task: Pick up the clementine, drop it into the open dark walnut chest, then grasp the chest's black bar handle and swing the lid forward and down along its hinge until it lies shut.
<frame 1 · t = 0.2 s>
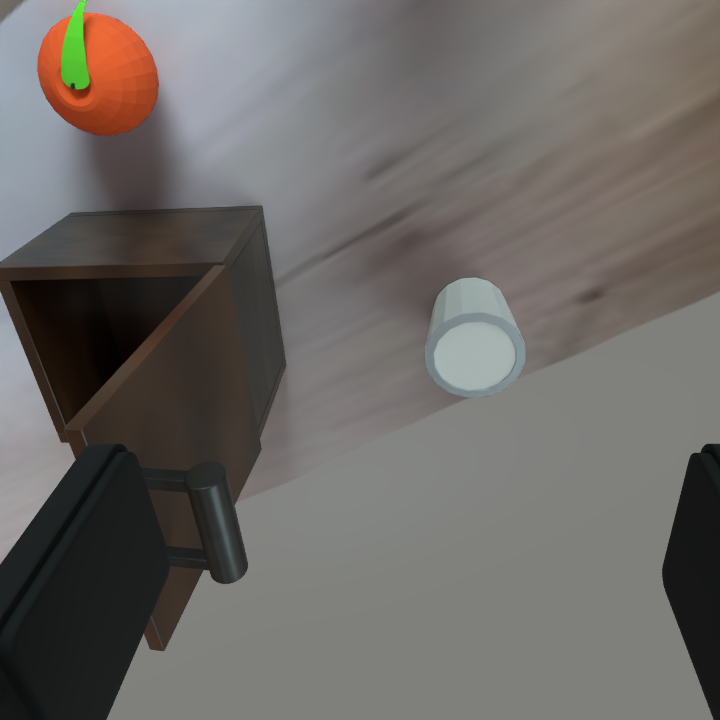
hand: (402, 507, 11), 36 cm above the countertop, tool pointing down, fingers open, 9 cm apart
clementine: (123, 59, 42), on the countertop
chest: (184, 293, 51), on the countertop
lid: (228, 444, 34), point 19 cm above the countertop, hinge at 85.0°
shot glass: (469, 309, 49), on the countertop
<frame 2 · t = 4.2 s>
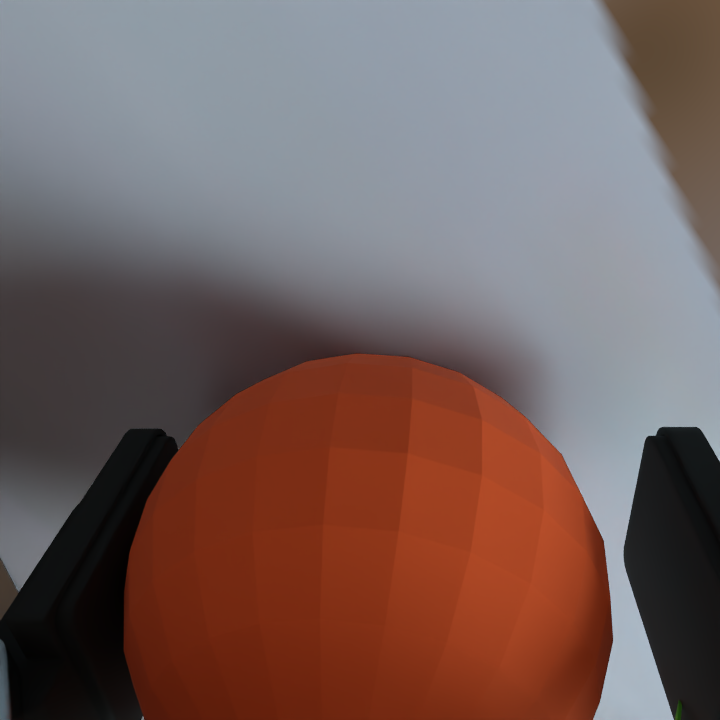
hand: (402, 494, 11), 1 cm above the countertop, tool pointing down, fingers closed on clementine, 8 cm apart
clementine: (408, 437, 13), on the countertop, touching gripper
when the fingers open (14 cm above the countertop, at t = 9.5 s): clementine drops 11 cm, resting on chest.
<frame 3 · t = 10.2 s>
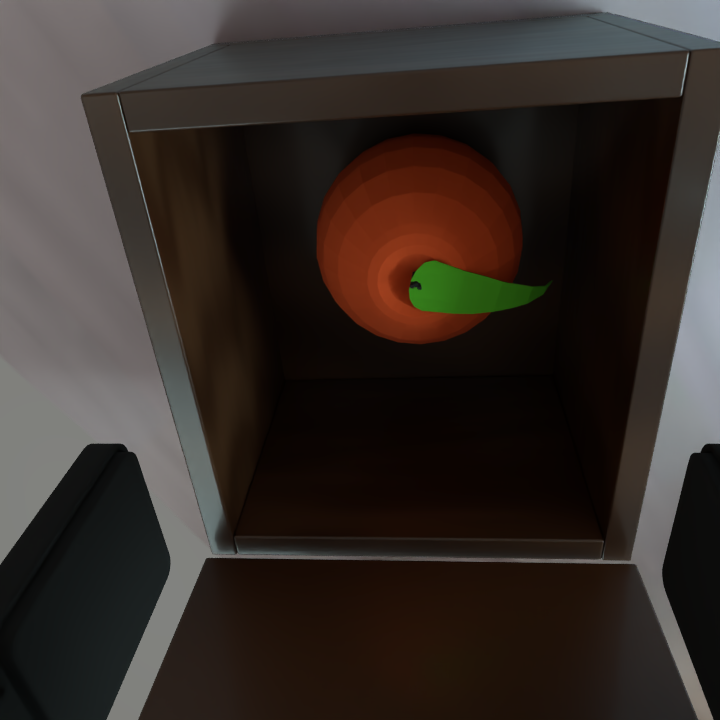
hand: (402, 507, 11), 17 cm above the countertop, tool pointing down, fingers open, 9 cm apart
clementine: (432, 209, 25), point 1 cm above the countertop, touching chest
chest: (411, 232, 26), on the countertop
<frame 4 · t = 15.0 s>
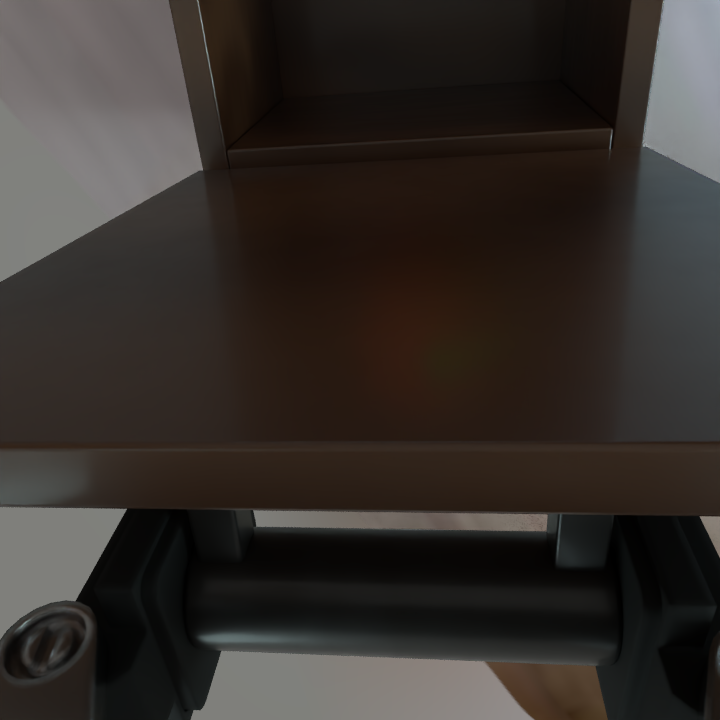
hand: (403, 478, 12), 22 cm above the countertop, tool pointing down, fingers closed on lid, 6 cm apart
lid: (407, 337, 14), point 19 cm above the countertop, hinge at 85.0°, touching gripper
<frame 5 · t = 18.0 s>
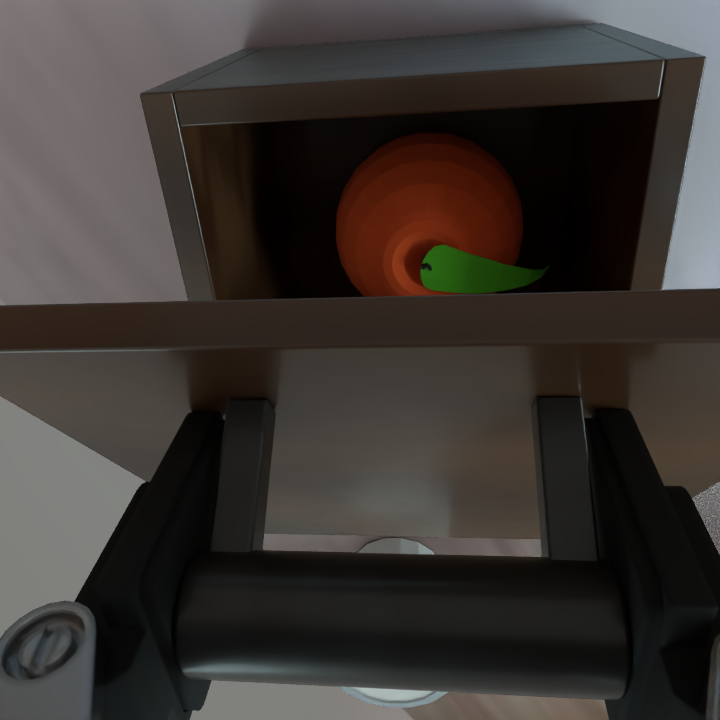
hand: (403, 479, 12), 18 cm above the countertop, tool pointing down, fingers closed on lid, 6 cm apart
clementine: (440, 202, 27), point 1 cm above the countertop, touching chest
chest: (420, 223, 28), on the countertop
lid: (412, 556, 15), point 17 cm above the countertop, hinge at 33.9°, touching gripper
shot glass: (397, 566, 40), on the countertop
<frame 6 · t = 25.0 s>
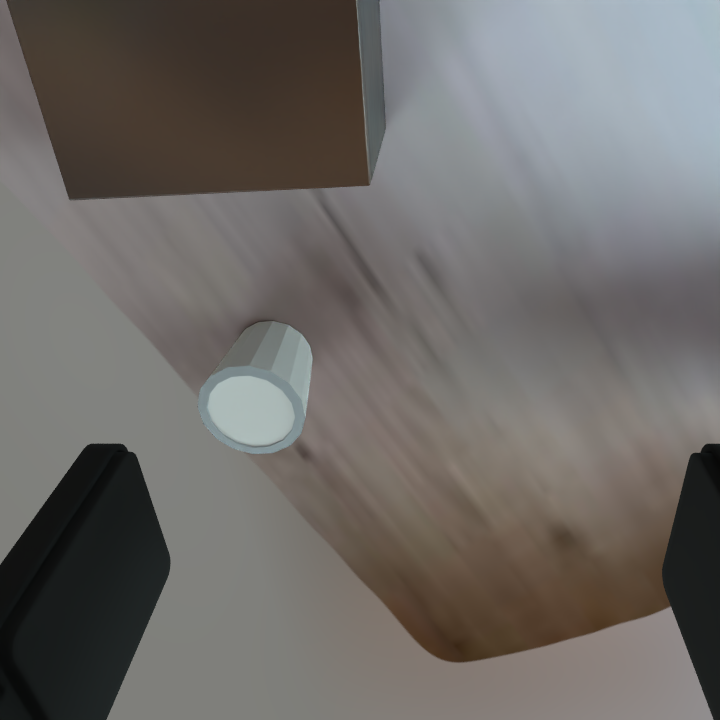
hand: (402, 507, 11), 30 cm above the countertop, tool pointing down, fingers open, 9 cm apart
shot glass: (274, 353, 46), on the countertop
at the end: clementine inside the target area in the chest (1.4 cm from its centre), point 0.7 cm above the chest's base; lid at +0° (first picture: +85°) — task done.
